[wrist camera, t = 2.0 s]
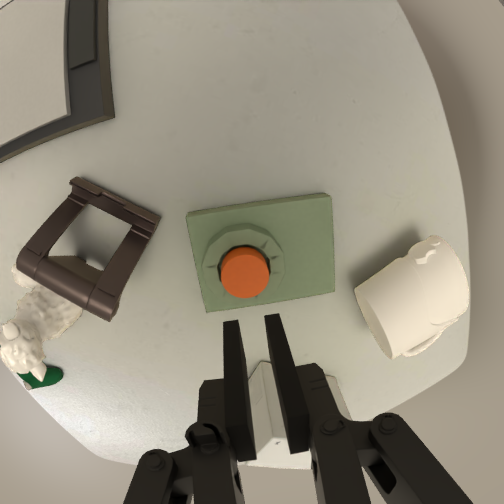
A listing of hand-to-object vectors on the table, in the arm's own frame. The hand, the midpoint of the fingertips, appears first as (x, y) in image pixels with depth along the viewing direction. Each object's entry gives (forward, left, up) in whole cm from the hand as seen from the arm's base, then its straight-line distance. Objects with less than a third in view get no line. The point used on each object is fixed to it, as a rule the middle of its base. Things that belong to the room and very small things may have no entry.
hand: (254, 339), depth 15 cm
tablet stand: (+12, -4, -13) cm, 18 cm away
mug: (-16, +7, -13) cm, 22 cm away
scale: (+17, -23, -12) cm, 31 cm away
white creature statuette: (+20, +1, -13) cm, 24 cm away
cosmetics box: (-3, +18, -13) cm, 22 cm away
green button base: (-2, 0, -12) cm, 13 cm away
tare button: (0, 0, -9) cm, 9 cm away
